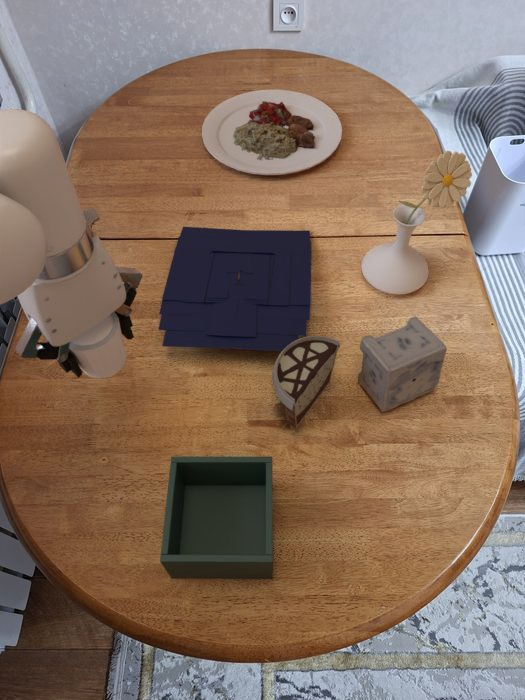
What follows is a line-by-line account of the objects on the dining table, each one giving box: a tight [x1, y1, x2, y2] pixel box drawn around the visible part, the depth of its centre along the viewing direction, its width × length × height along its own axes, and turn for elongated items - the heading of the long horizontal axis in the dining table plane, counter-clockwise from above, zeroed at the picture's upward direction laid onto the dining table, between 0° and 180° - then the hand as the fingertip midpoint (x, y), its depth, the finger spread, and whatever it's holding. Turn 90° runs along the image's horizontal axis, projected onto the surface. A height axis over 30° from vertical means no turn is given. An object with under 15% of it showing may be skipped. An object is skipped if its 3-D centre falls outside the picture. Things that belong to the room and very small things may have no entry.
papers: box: [158, 226, 312, 352], centre depth 93 cm, size 24×30×4 cm
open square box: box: [159, 456, 274, 580], centre depth 68 cm, size 13×13×8 cm
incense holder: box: [357, 316, 448, 413], centre depth 79 cm, size 10×8×10 cm
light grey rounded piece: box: [69, 312, 127, 380], centre depth 66 cm, size 7×7×7 cm
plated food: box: [201, 89, 343, 176], centre depth 118 cm, size 30×30×3 cm
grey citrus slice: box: [271, 335, 341, 430], centre depth 79 cm, size 12×6×10 cm, turn 145°
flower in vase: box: [360, 150, 473, 295], centre depth 86 cm, size 13×11×25 cm
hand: (99, 349), depth 67 cm, fingers closed on light grey rounded piece, 6 cm apart
